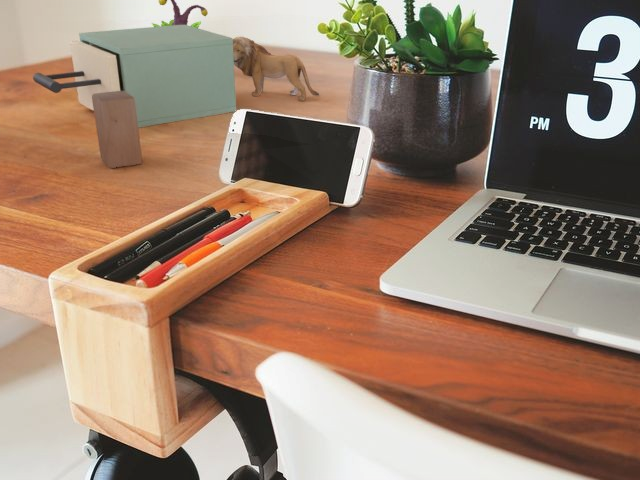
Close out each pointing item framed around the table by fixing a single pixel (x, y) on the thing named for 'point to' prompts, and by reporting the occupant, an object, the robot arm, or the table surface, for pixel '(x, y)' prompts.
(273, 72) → the lion figurine
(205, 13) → the plant
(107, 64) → the drawer
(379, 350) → the table surface
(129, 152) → the wooden block
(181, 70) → the cabinet
